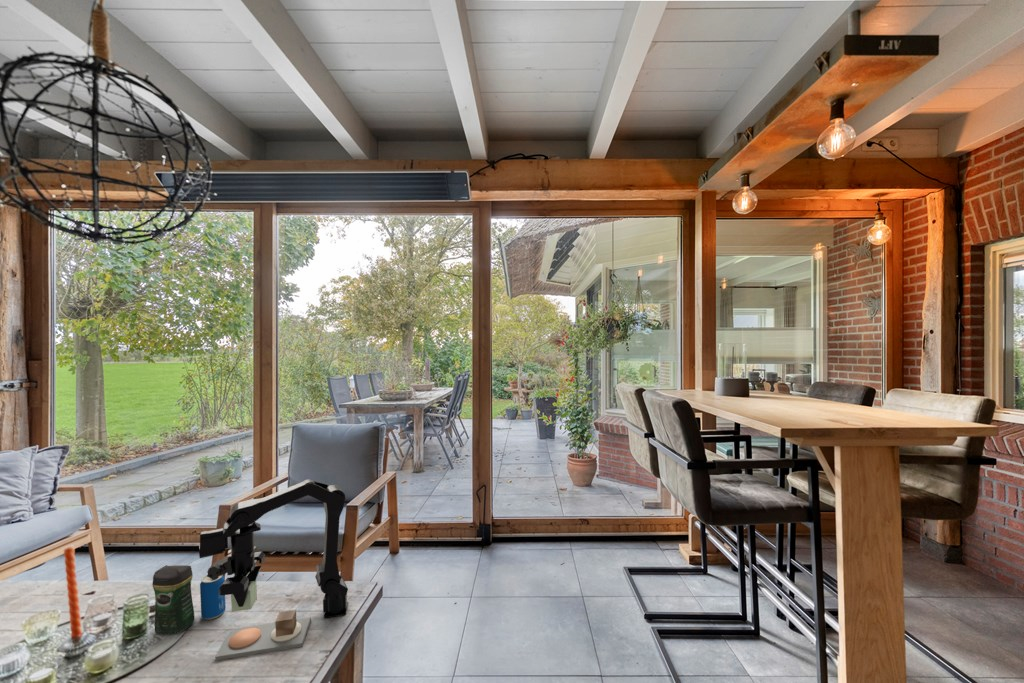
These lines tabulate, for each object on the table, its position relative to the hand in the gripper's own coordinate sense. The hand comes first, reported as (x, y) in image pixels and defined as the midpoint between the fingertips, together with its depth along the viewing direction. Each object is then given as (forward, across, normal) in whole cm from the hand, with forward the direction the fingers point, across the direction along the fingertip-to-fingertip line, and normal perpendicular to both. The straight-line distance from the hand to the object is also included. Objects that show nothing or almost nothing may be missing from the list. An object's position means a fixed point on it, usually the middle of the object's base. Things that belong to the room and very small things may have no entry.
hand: (244, 601), depth 132 cm
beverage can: (+12, -16, -15) cm, 25 cm away
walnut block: (+10, +1, +11) cm, 15 cm away
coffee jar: (+12, -12, -24) cm, 29 cm away
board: (+12, +1, +6) cm, 13 cm away
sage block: (+1, 0, 0) cm, 1 cm away
